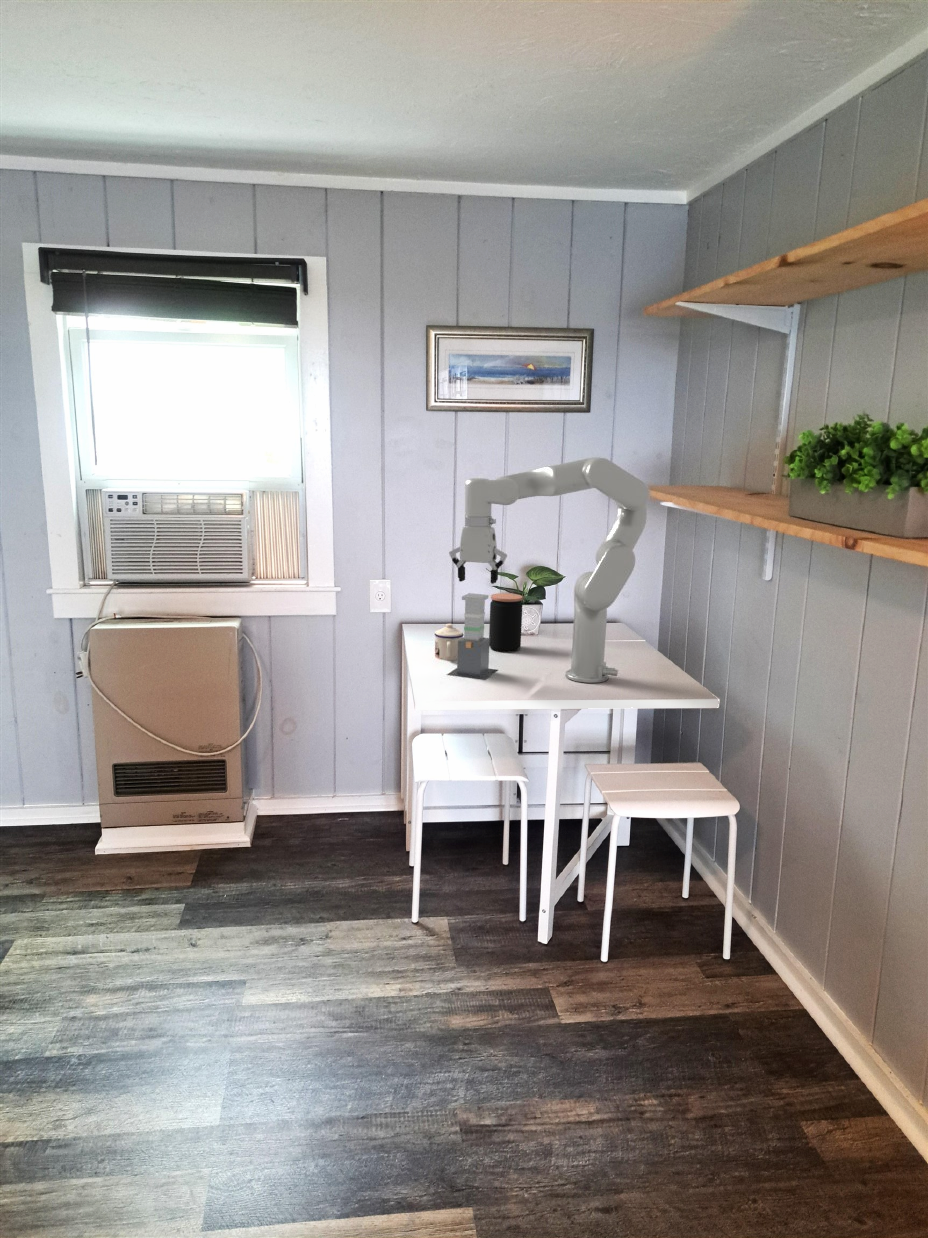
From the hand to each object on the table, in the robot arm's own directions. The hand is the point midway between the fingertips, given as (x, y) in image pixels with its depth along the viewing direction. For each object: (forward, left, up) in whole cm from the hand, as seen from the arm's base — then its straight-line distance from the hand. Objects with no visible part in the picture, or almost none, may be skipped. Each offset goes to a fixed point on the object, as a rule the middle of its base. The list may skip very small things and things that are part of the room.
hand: (477, 581), depth 242 cm
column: (+1, 0, -21) cm, 21 cm away
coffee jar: (+3, -36, -29) cm, 46 cm away
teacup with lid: (+13, -12, -29) cm, 34 cm away
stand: (+1, 0, -28) cm, 28 cm away
